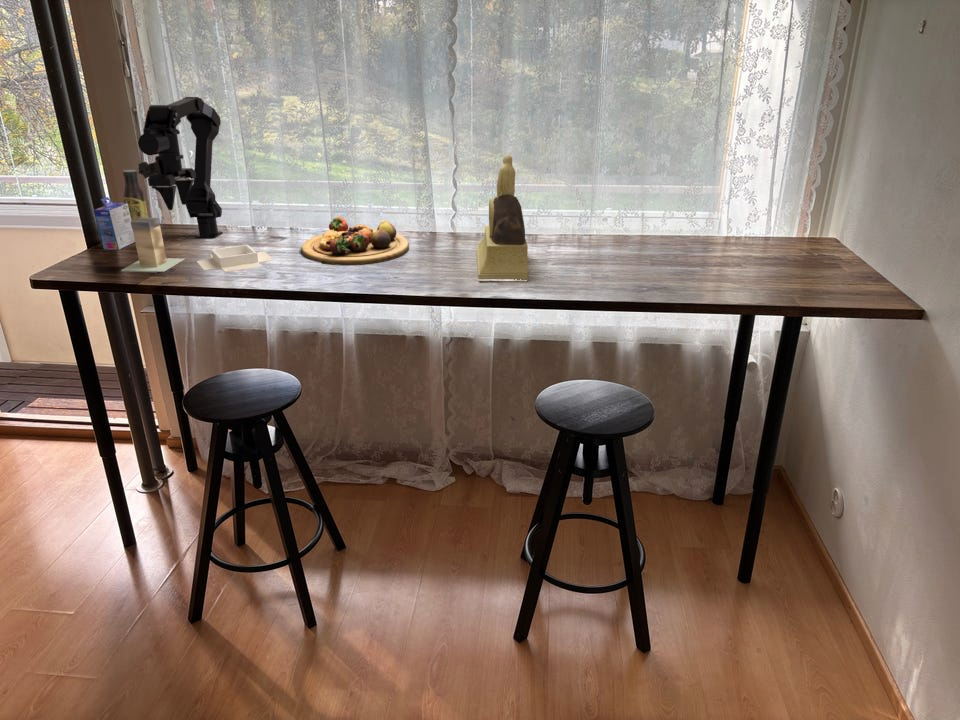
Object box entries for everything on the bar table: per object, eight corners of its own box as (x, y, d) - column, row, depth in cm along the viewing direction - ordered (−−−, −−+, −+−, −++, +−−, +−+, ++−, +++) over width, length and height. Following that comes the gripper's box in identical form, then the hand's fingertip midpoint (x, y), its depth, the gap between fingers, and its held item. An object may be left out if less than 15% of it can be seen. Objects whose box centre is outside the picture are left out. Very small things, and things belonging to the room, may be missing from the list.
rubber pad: (144, 258, 202) (144, 257, 202) (184, 260, 201) (184, 258, 201) (121, 271, 191) (121, 270, 191) (163, 272, 190) (163, 271, 190)
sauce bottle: (125, 234, 227) (112, 171, 219) (137, 229, 233) (124, 168, 225) (144, 235, 226) (131, 172, 218) (155, 230, 232) (143, 169, 224)
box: (150, 261, 199) (141, 217, 193) (167, 261, 198) (159, 217, 193) (139, 266, 194) (130, 221, 189) (157, 267, 193) (148, 222, 188)
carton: (193, 258, 203) (191, 248, 202) (259, 248, 212) (258, 239, 211) (207, 275, 188) (206, 264, 187) (278, 264, 197) (277, 254, 196)
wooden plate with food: (297, 241, 221) (294, 215, 218) (397, 232, 230) (396, 207, 226) (306, 272, 194) (303, 243, 190) (419, 261, 202) (418, 233, 199)
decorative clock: (476, 252, 209) (476, 148, 197) (519, 252, 210) (522, 148, 197) (478, 282, 184) (478, 164, 171) (527, 282, 184) (531, 164, 171)
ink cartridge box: (120, 241, 220) (110, 194, 214) (137, 241, 219) (127, 194, 213) (101, 249, 211) (90, 201, 205) (119, 250, 210) (108, 201, 204)
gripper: (155, 148, 209) (164, 201, 215) (124, 154, 191) (134, 212, 197) (193, 148, 209) (200, 202, 214) (165, 155, 191) (174, 213, 197)
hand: (177, 207), depth 206 cm, fingers open, 9 cm apart
